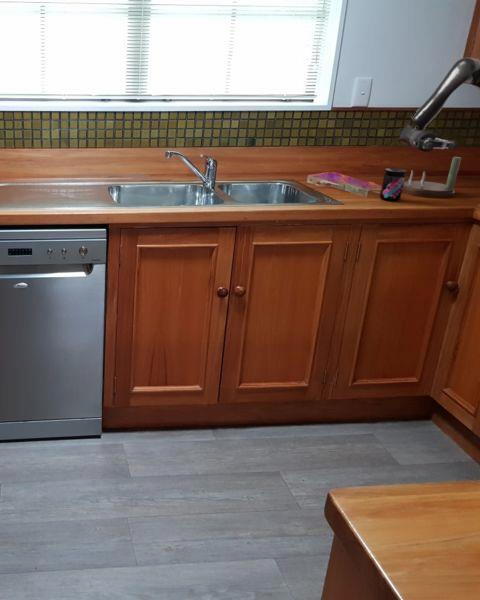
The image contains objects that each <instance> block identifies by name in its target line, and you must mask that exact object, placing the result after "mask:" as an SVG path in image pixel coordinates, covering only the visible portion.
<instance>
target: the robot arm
mask: <svg viewBox="0 0 480 600" xmlns="http://www.w3.org/2000/svg"><path fill="white" fill-rule="evenodd" d="M464 84H467V85H472V86H474V87H477V88H480V59H479V58H474V57H461V58H460V59H459V60H457V61H455V62H454V64H453V65H452V66H451V68H450V69H449V70H448V72H447V74H446V75H445V76H444V77H443V79H442V80H441V82H440V83H439V84H438V86H437V87H436V89H435V90H434V91H433V93H431V95H429V97H428V98H427V99H426V100H425V101H424V102H423V104H422V105H421V106H420V107H419V108H418V109H417V110H416V111H415V112H416V113H415V112H414V113H415V114H414V113H413V114H414V116H413V115H412V116H413V117H412V116H411V118H412V119H411V121H412V122H413V124H415V126H417V127H418V129H416V127H413V126H412V125H409V124H407V126H405V128H404V129H403V130H402V131H401V134H400V137H399V140H400V141H403V142H405V143H407V144H408V145H410V146H409V147H413V148H414V149H416V150H418V151H422V152H426V153H429V152H431V151H432V152H433V150H446V149H448V150H451V151H456V150H457V147H458V145H457V144H458V142H457V141H454V140H451V139H441V138H439V136H438V134H436V133H434V132H432V131H429V130H425V129H426V127H427V126H428V125H429V124H430V123H431V122H432V121H433V120H434V119H435V118H436V117H437V115H438V114H439V113H440V112H441V110H442V109H443V107H444V106H445V104H446V102H447V100H449V98H450V97H451V95H452V94H453V93H454V92H455V91H456V90H457V89H458V88H459V87H461V86H462V85H464Z"/></svg>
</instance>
